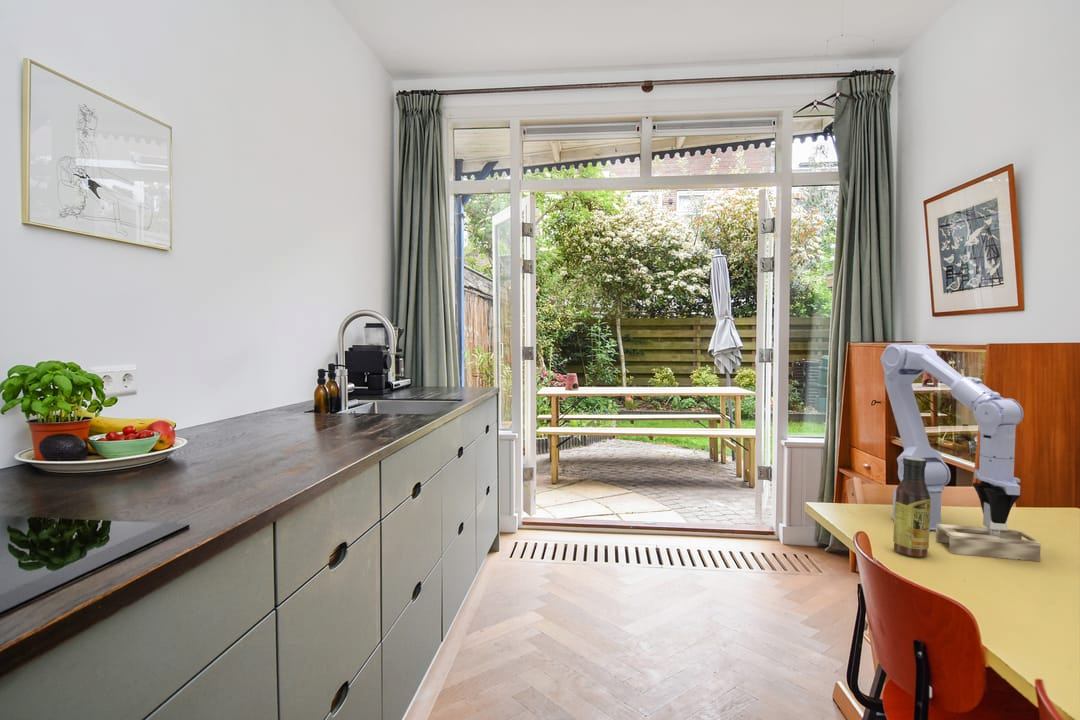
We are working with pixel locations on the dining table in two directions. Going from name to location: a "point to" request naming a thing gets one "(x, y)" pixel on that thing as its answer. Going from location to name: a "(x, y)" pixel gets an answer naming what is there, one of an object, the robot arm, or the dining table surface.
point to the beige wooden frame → (988, 542)
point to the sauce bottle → (912, 510)
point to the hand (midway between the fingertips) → (994, 520)
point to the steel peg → (987, 521)
